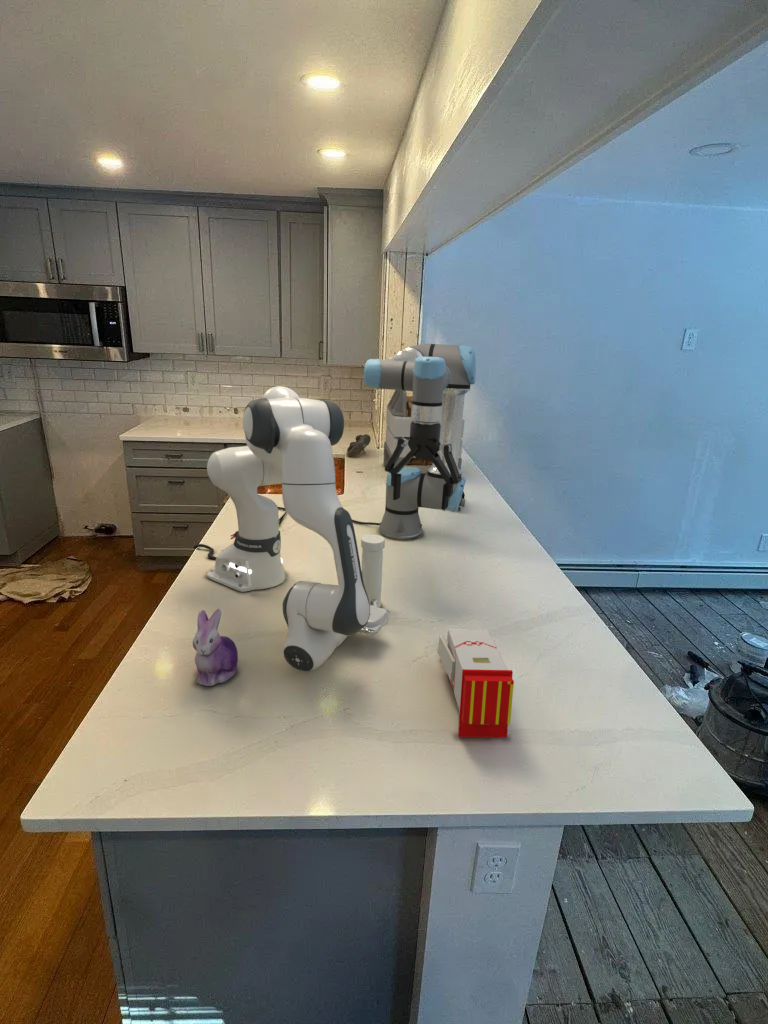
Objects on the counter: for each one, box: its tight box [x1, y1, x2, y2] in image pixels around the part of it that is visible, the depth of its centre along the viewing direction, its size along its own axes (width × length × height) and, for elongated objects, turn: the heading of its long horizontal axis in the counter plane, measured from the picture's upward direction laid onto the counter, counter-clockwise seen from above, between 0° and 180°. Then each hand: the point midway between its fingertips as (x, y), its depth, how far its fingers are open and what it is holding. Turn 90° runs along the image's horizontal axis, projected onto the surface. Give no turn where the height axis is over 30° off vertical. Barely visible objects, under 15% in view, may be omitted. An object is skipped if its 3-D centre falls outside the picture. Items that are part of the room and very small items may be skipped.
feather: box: [279, 511, 287, 526], centre depth 213 cm, size 2×28×2 cm
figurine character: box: [457, 490, 466, 511], centre depth 229 cm, size 7×8×15 cm
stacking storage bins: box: [383, 390, 465, 471], centre depth 268 cm, size 34×33×41 cm
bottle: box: [361, 547, 384, 608], centre depth 148 cm, size 5×5×19 cm
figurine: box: [192, 608, 239, 687], centre depth 118 cm, size 9×10×15 cm
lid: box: [360, 533, 386, 551], centre depth 145 cm, size 6×6×2 cm
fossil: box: [346, 433, 372, 458], centre depth 305 cm, size 22×10×15 cm
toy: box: [437, 628, 515, 738], centre depth 117 cm, size 12×13×30 cm
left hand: (358, 597), depth 142 cm, fingers open, 8 cm apart
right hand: (420, 503), depth 147 cm, fingers open, 13 cm apart
